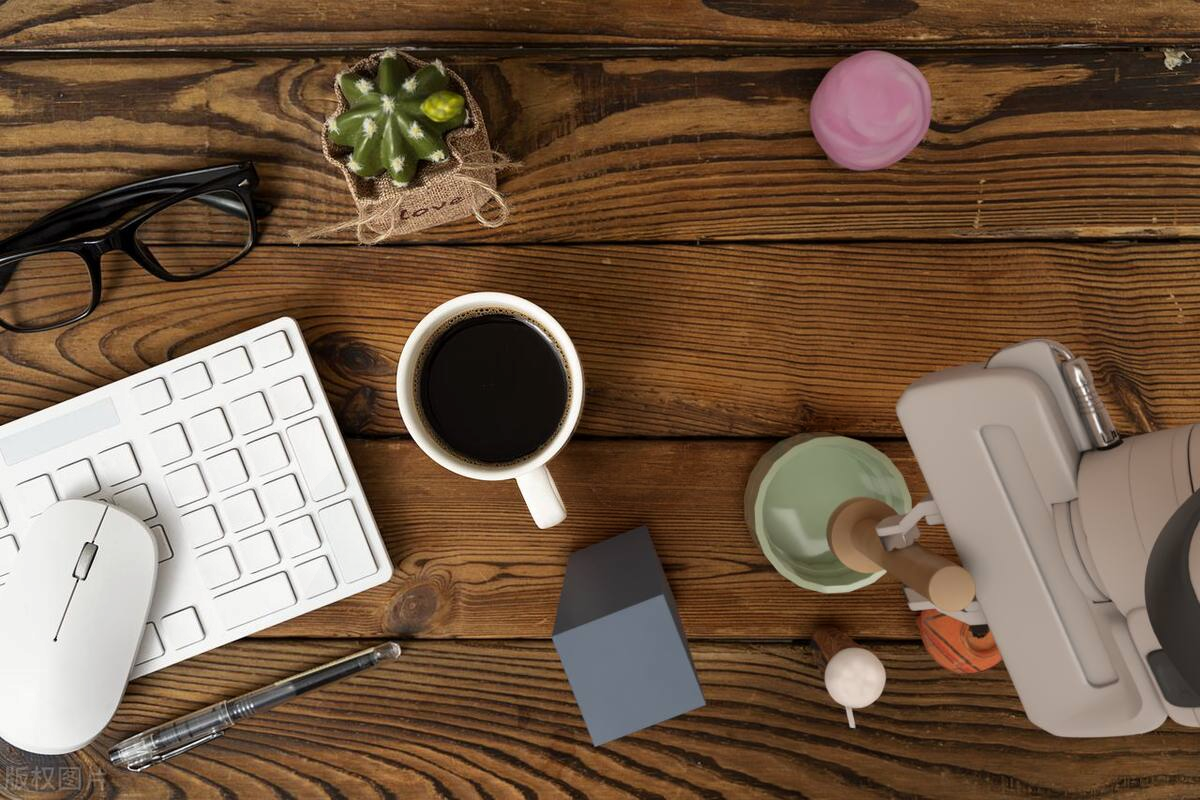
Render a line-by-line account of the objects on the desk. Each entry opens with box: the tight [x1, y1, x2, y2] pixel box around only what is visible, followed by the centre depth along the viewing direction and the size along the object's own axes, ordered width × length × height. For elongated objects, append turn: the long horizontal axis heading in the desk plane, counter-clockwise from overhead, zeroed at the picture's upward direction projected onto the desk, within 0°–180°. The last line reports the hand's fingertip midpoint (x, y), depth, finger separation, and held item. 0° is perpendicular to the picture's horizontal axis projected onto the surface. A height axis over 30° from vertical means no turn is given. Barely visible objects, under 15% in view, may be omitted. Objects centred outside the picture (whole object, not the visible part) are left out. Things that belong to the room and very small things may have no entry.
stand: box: [551, 524, 707, 748], centre depth 61 cm, size 7×7×23 cm
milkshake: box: [808, 625, 887, 729], centre depth 68 cm, size 5×5×10 cm
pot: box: [915, 609, 1003, 675], centre depth 70 cm, size 8×8×7 cm
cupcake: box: [809, 49, 932, 172], centre depth 67 cm, size 9×9×10 cm
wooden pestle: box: [826, 496, 976, 612], centre depth 51 cm, size 5×5×16 cm
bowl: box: [743, 431, 913, 594], centre depth 69 cm, size 12×12×6 cm
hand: (896, 564), depth 50 cm, fingers closed on wooden pestle, 2 cm apart
